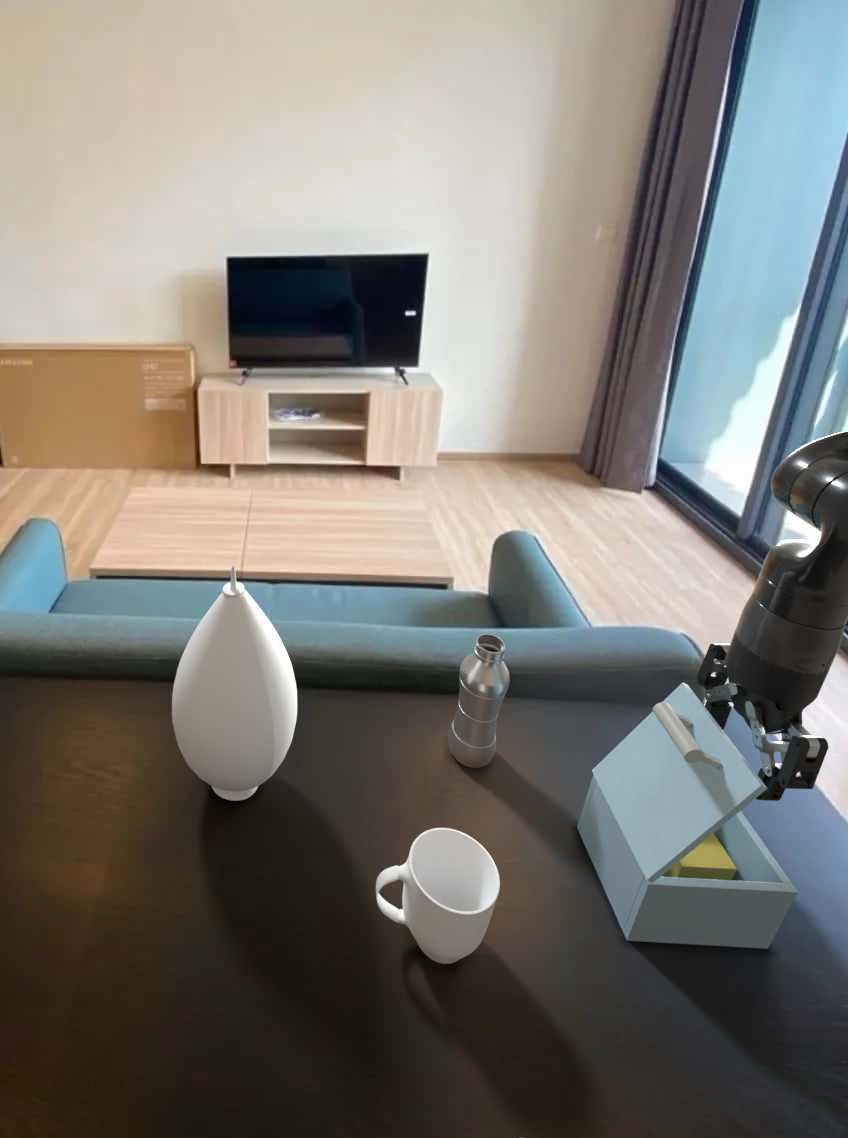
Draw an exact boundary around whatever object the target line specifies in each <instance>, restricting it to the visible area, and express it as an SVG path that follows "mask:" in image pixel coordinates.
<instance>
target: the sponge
mask: <svg viewBox="0 0 848 1138" xmlns="http://www.w3.org/2000/svg"><path fill="white" fill-rule="evenodd" d="M736 871H737V868H736V866H735V865H734V863H733V862H732V860H731V859H730V857H729V856H728V854H727V852H726V851H725V849H724V848H723V846H722V845H721V843H720V842H719V840H718V838H717V837H716V835H715V834H714V833H713V834H712V835H710V836H709V837H708V838H707V839H706V840H704V841H703V842H702V843H701V844H700V845H698V846H697V847H696V848H695V849H693V850H692V851H691V852H690V853H689V854H687V855H686V856H685V857H684V858H682V859H681V860H680V861H679V862H678V863H676V864H675V865H674V866H673V867H672V868H670V869H669V870H668V871H667V872H665V873H664V874H663V876H664V877H676V878H694V879H713V880H732V879H733V877H734V875H735V873H736Z"/></svg>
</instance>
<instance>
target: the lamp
mask: <svg viewBox="0 0 848 1138" xmlns="http://www.w3.org/2000/svg"><path fill="white" fill-rule="evenodd" d="M221 591H222V592H221V593H220V594H219V595H218V597H217V598H216V600H215V601H214V602H213V604H212V605H211V606H210V608H209V609H208V610H207V611H206V613H205V614H204V616H203V617H202V619H201V620H200V621H199V623H198V625H197V626H196V628H195V630H194V631H193V632H192V635H191V636H190V638H189V640H188V642H187V645H186V646H185V648H184V651H183V652H182V655H181V657H180V660H179V663H178V666H177V668H176V673H175V678H174V683H173V687H172V695H171V720H172V727H173V731H174V736H175V740H176V744H177V746H178V749H179V752H180V753H181V755H182V757H183V759H184V761H185V762H186V764H187V766H188V767H189V769H191V771H192V772H193V773H194V774H195V775H196V776H197V777H198V778H199V779H200V780H202V781H203V782H205V783H206V784H208V785H209V786H211V789H212V790H213V792H214V793H215V794H216V795H217V796H218V797H220V798H222V799H225V800H228V801H234V802H236V801H244V800H247V799H248V798H251V797H252V796H253V795H254V794H255V793H256V791H257V790H258V788H259V786H260V785H262V784H264V783H265V782H266V781H268V779H270V778H271V777H272V776H273V775H274V774H275V773H276V771H277V770H278V769H279V767H280V766H281V764H282V763H283V762H284V759H285V758H286V756H287V753H288V751H289V749H290V746H291V744H292V741H293V738H294V733H295V728H296V723H297V718H298V688H297V681H296V678H295V677H296V676H295V672H294V668H293V664H292V661H291V659H290V656H289V654H288V651H287V649H286V646H285V645H284V643H283V641H282V639H281V637H280V635H279V633H278V632H277V630H276V628H275V626H274V625H273V623H272V622H271V621H270V619H269V618H268V616H267V615H266V614H265V612H264V610H262V608H261V607H260V606H259V604H258V603H257V602H256V601H255V600H254V598H253V596H251V594H249V592H248V591H247V590H246V589H245V585H244V583H242V582H240V581H237V574H236V567H235V565H234V564H233V565H232V566H231V571H230V581H229V582H226V583H225V584H224V585H223V586H222V590H221Z"/></svg>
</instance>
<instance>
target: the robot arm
mask: <svg viewBox="0 0 848 1138" xmlns="http://www.w3.org/2000/svg"><path fill="white" fill-rule="evenodd" d="M770 490H771V494H772V495H773V497H774V500H775V501H777V503H779V505H781V506H782V507H783V508H784V509H785V510H787V511H789V512H790V513H791V514H794V515H795V516H796V517H798V518H799V519H801V520H802V521H804V522H806V523H807V524H808V525H810V526H812V527H813V528H814V529H816V530H817V531H819V532H821V533H820V539H819V541H818V542H815V541H811V540H805V539H800V538H799V539H797V538H796V539H795V538H794V539H790V538H789V539H785V540H781V541H778V542H777V543H775V544H774V545H772V547H771V548H770V549H769V551H768V552H767V554H766V555H765V558H764V561H763V564H762V566H761V569H760V572H759V575H758V577H757V580H756V583H755V585H754V588H753V591H752V592H751V595H750V596H749V598H748V599H747V601H746V603H745V604H744V607H743V609H742V610H741V611H742V612H741V614H740V616H739V620H738V622H737V624H736V628H735V630H734V634H733V635H732V639H731V641H730V643H710V644H709V646H708V648H707V650H706V654H705V656H704V658H703V661H702V663H701V665H700V668H699V670H698V671H697V672H698V673H697V674H696V682H697V684H698V685H699V686H701V687H703V688H704V689H705V691H704V698H705V700H706V701H705V704H704V706H705V708H706V709H707V710H708V712H709V713H710V714H711V716H712V717H713V718H714V719H715V721H716V722H717V723H718V725H719V726H720V727H721V729H722V730H723V731H724V730H725V727H726V724H727V721H728V719H729V716H730V714H731V711H732V709H734V711H735V712H736V713H737V714H738V715H739V716H741V717H742V718H743V720H744V721H745V723H746V725H747V726H748V727H749V728H750V730H751V735H752V742H753V746H754V747H755V749H756V750H758V751H759V755H760V761H761V766H762V767H760V769H759V771H758V772H757V775H758V777H759V778H760V779H761V781H762V782H763V783H764V784H765V786H766V787H767V789H766V790H765V791H764V792H763V793H762V794H760V795H759V796H758V797H757V798H756V799H755V800H757V801H768V802H769V801H772V802H778V801H780V800H781V799H782V798H783V795H784V793H785V791H786V789H790V790H792V789H793V790H813V788H814V786H815V784H816V781H817V778H818V776H819V774H820V770H821V768H822V765H823V763H824V761H825V758H826V755H827V752H828V750H829V743H828V740H827V739H826V738H825V737H824V736H823V735H822V736H821V735H820V736H819V735H812V734H811V733H810V731H808V730H807V728H805V727H804V726H803V711H804V710H805V709H806V708H807V707H808V706H810V705H811V704H812V703H813V702H814V701H815V700H816V699H817V698H818V696H819V694H820V692H821V690H822V687H823V685H824V683H825V681H826V678H827V676H828V674H829V672H830V670H831V667H832V666H833V663H834V661H835V658H836V656H837V655H838V651H839V649H840V647H841V644H842V641H843V637H844V632H845V628H846V625H847V622H848V429H847V430H844V431H841V432H837V433H834V434H831V435H827V436H825V437H821V438H818V439H816V440H812V441H811V442H808V443H806V444H804V445H802V446H800V447H799V448H797V449H795V450H794V451H792V452H791V453H790V454H789V455H786V457H785V458H784V459H782V461H781V462H780V463H779V464H778V466H777V467H776V468H775V470H774V472H773V474H772V476H771V481H770ZM727 681H728V682H727ZM730 703H732V705H733V706H731V704H730ZM780 734H781V740H778V741H775V740H768V739H767V735H780ZM776 752H778V753H779V754H780V760H781V762H780V763H779V762H777V763H776V760H775V753H776Z"/></svg>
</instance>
